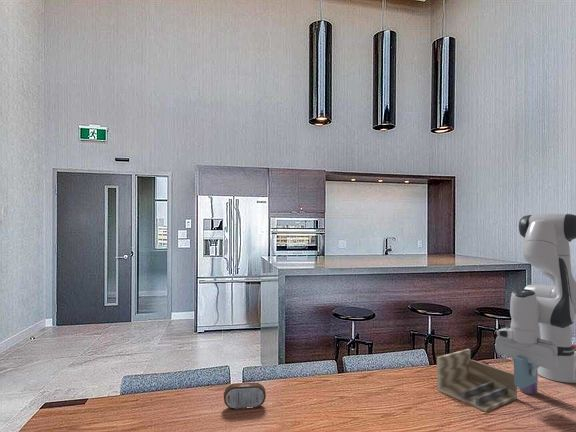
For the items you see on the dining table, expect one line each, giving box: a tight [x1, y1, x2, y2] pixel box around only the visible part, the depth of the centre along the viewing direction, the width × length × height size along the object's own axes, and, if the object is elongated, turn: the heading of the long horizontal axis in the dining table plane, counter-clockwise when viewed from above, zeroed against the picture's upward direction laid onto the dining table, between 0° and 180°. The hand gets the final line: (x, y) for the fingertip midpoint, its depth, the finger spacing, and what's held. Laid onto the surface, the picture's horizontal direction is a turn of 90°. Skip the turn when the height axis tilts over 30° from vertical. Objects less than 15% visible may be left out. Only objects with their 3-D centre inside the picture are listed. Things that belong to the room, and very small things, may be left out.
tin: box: [223, 382, 267, 409], centre depth 132 cm, size 15×3×8 cm, turn 98°
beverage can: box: [518, 382, 538, 396], centre depth 146 cm, size 6×6×15 cm
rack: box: [436, 348, 518, 413], centre depth 143 cm, size 20×20×13 cm
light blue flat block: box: [513, 356, 539, 388], centre depth 134 cm, size 10×3×10 cm, turn 121°
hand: (525, 373), depth 134 cm, fingers closed on light blue flat block, 3 cm apart
